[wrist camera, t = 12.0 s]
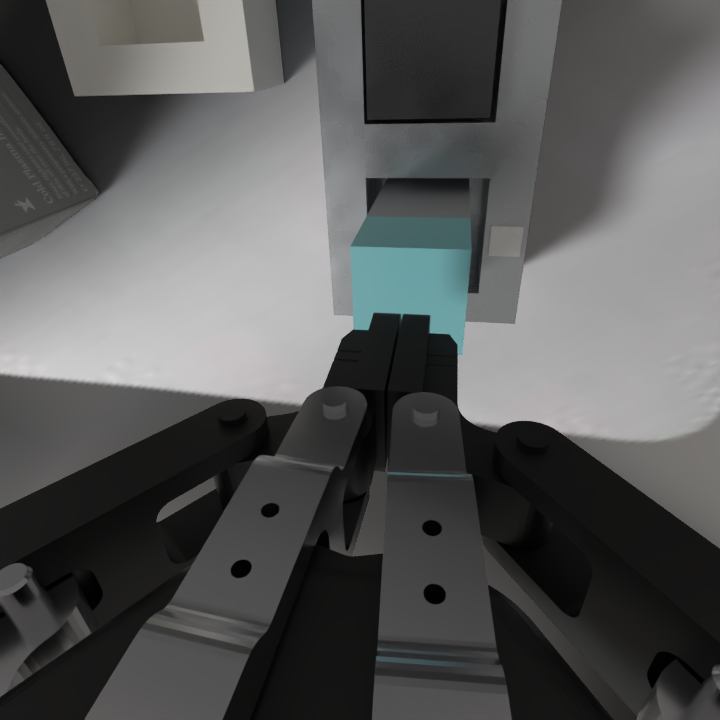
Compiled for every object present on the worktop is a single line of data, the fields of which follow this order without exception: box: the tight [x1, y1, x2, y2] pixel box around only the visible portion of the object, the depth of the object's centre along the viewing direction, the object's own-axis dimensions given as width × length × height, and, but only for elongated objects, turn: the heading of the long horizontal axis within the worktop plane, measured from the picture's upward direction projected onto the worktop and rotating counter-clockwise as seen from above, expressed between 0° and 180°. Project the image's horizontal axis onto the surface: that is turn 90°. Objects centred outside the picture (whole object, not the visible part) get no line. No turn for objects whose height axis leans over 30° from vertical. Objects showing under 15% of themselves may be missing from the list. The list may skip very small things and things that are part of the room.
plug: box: [350, 178, 472, 355], centre depth 20 cm, size 4×4×11 cm
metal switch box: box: [312, 0, 562, 324], centre depth 21 cm, size 8×14×6 cm, turn 2°
